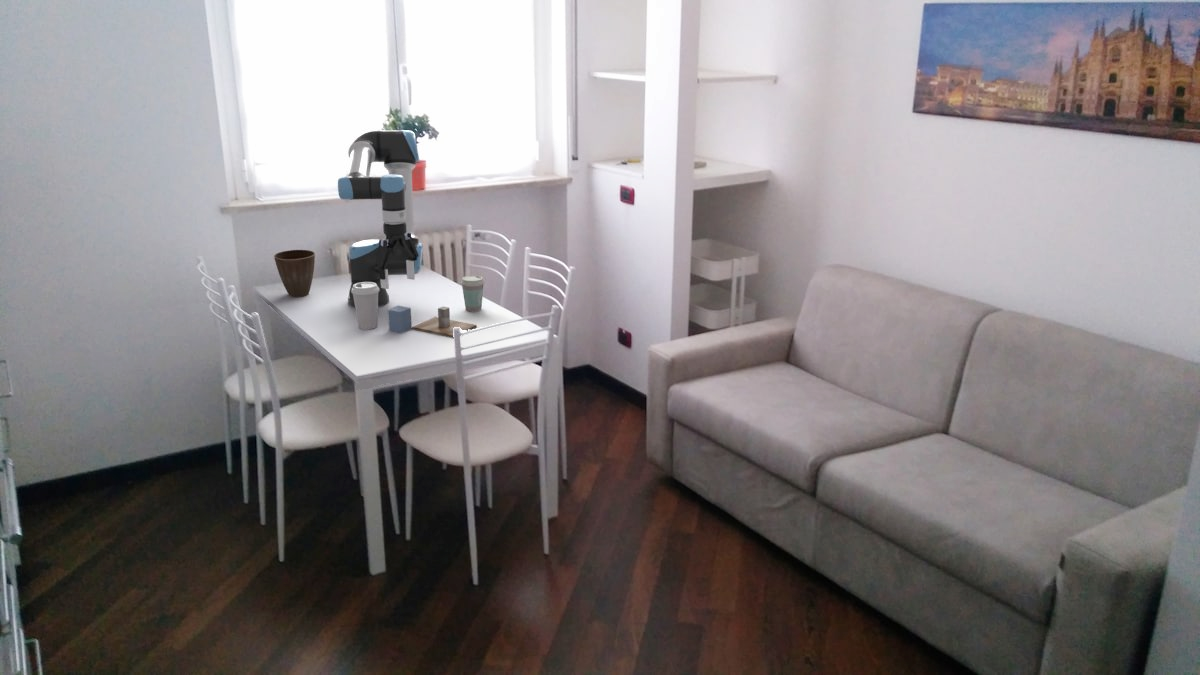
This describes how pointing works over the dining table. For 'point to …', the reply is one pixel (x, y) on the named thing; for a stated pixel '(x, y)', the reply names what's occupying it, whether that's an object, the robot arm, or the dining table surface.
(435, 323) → the post board
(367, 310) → the coffee cup
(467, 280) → the coffee cup
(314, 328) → the dining table surface
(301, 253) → the plant pot
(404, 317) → the slate blue box
